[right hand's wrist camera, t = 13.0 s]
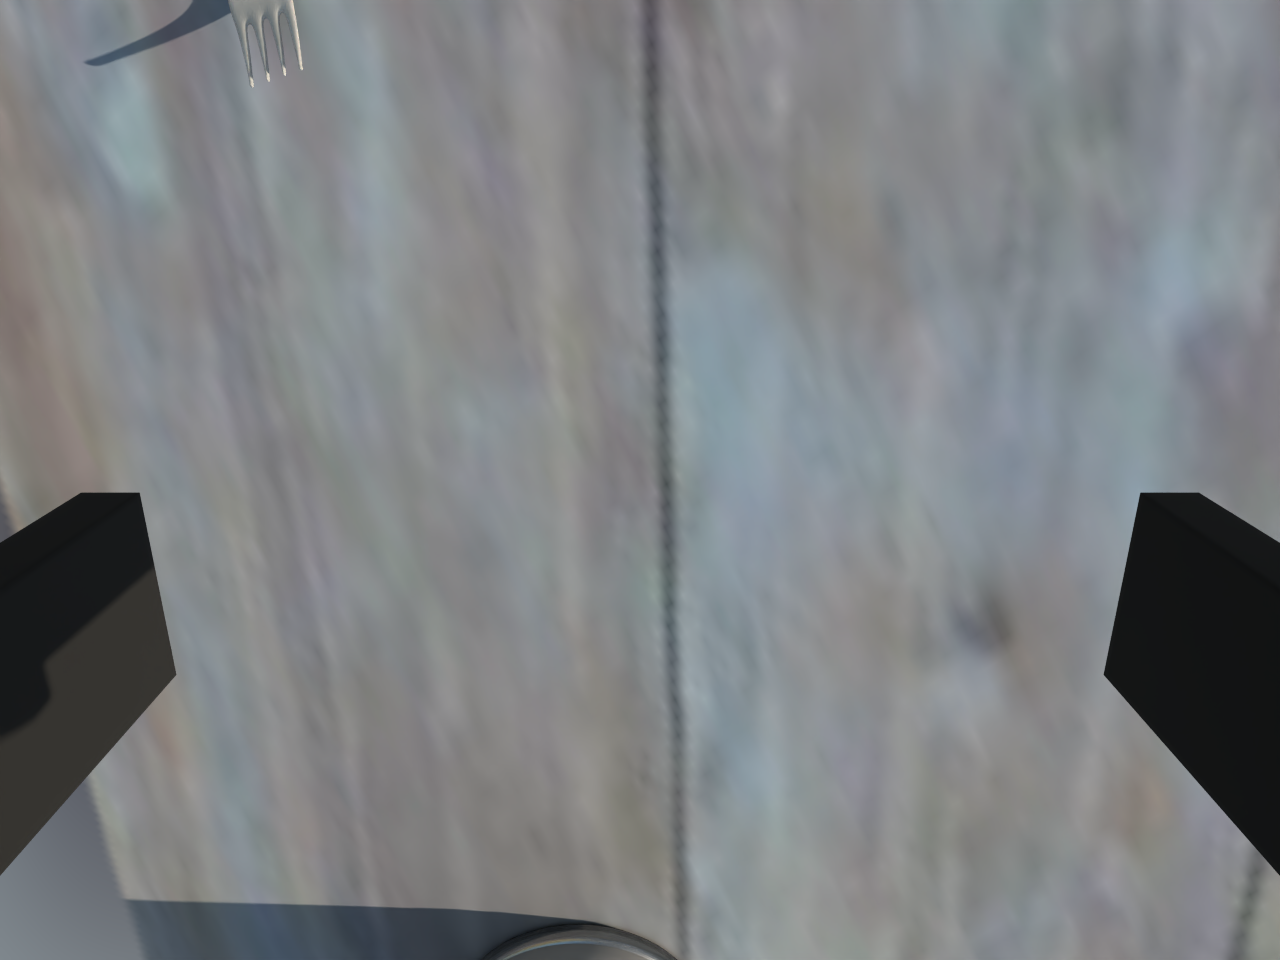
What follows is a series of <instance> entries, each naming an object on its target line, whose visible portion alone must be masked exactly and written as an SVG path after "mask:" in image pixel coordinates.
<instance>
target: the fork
mask: <svg viewBox="0 0 1280 960" xmlns="http://www.w3.org/2000/svg"><path fill="white" fill-rule="evenodd" d="M228 3H229V7H230V11H231V14H232V17H233V20H234V23H235V26H236V28H237V32H238V35H239V39H240V43H241V47H242V51H243V55H244V59H245V63H246V67H247V71H248V76H249V81H250V86H251V87H254V85H253V76H252V66H251V57H250V49H249V42H248V35H247V26H248V25H249V24H251V25H252V26H253V28H254V30H255V33H256V37H257V41H258V45H259V49H260V53H261V57H262V61H263V65H264V69H265V73H266V78H267V80H268V81H270V78H269V68H268V59H267V51H266V43H265V36H264V29H263V21H264V19H265V18H267V19H268V20H269V22H270V24H271V27H272V31H273V35H274V38H275V42H276V46H277V50H278V54H279V58H280V62H281V66H282V71H283V74H284V76H286V69H285V60H284V51H283V44H282V36H281V30H280V22H279V16H280V14H281V13H284V14H285V16H286V18H287V21H288V24H289V28H290V32H291V36H292V40H293V43H294V47H295V51H296V55H297V59H298V64H299V69H300V70H303V68H302V60H301V52H300V44H299V36H298V29H297V23H296V17H295V11H294V5H293V0H228Z"/></svg>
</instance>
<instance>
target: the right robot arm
mask: <svg viewBox="0 0 1280 960" xmlns="http://www.w3.org/2000/svg"><path fill="white" fill-rule="evenodd" d="M175 676H176V671H175V666H174V661H173V656H172V651H171V646H170V641H169V636H168V631H167V626H166V621H165V616H164V611H163V606H162V601H161V596H160V592H159V587H158V582H157V577H156V572H155V567H154V562H153V557H152V552H151V547H150V542H149V537H148V532H147V527H146V522H145V517H144V512H143V507H142V502H141V497H140V493H80V494H78V495H77V496H75V497H73V498H72V499H70V500H69V501H67V502H65V503H64V504H62V505H61V506H59V507H57V508H56V509H54V510H52V511H51V512H49V513H48V514H46V515H44V516H43V517H41V518H40V519H38V520H36V521H35V522H33V523H32V524H30V525H28V526H27V527H25V528H23V529H22V530H20V531H19V532H17V533H15V534H14V535H12V536H11V537H9V538H7V539H6V540H4V541H2V542H1V543H0V875H1V874H2V873H3V872H4V871H5V869H6V868H7V867H8V866H9V865H10V864H11V863H12V861H13V860H14V859H15V858H16V857H17V856H18V855H19V853H20V852H21V851H22V850H23V849H24V848H25V847H26V845H27V844H28V843H29V842H30V841H31V840H32V839H33V838H34V836H35V835H36V834H37V833H38V832H39V831H40V829H41V828H42V827H43V826H44V825H45V824H46V823H47V822H48V820H49V819H50V818H51V817H52V816H53V815H54V814H55V812H56V811H57V810H58V809H59V808H60V807H61V806H62V804H63V803H64V802H65V801H66V800H67V799H68V798H69V796H70V795H71V794H72V793H73V792H74V791H75V790H76V788H77V787H78V786H79V785H80V784H81V783H82V782H83V781H84V779H85V778H86V777H87V776H88V775H89V774H90V773H91V771H92V770H93V769H94V768H95V767H96V766H97V765H98V763H99V762H100V761H101V760H102V759H103V758H104V757H105V755H106V754H107V753H108V752H109V751H110V750H111V749H112V747H113V746H114V745H115V744H116V743H117V742H118V741H119V739H120V738H121V737H122V736H123V735H124V734H125V733H126V731H127V730H128V729H129V728H130V727H131V726H132V725H133V724H134V722H135V721H136V720H137V719H138V718H139V717H140V716H141V714H142V713H143V712H144V711H145V710H146V709H147V708H148V706H149V705H150V704H151V703H152V702H153V701H154V700H155V698H156V697H157V696H158V695H159V694H160V693H161V692H162V690H163V689H164V688H165V687H166V686H167V685H168V684H169V682H170V681H171V680H172V679H173V678H174V677H175ZM1104 676H1105V677H1106V678H1107V679H1108V680H1109V681H1110V682H1111V684H1112V685H1113V686H1114V687H1115V688H1116V689H1117V690H1118V692H1119V693H1120V694H1121V695H1122V696H1123V697H1124V698H1125V700H1126V701H1127V702H1128V703H1129V704H1130V705H1131V706H1132V708H1133V709H1134V710H1135V711H1136V712H1137V713H1138V714H1139V716H1140V717H1141V718H1142V719H1143V720H1144V721H1145V722H1146V724H1147V725H1148V726H1149V727H1150V728H1151V729H1152V730H1153V731H1154V733H1155V734H1156V735H1157V736H1158V737H1159V738H1160V739H1161V741H1162V742H1163V743H1164V744H1165V745H1166V746H1167V747H1168V749H1169V750H1170V751H1171V752H1172V753H1173V754H1174V755H1175V757H1176V758H1177V759H1178V760H1179V761H1180V762H1181V763H1182V765H1183V766H1184V767H1185V768H1186V769H1187V770H1188V771H1189V773H1190V774H1191V775H1192V776H1193V777H1194V778H1195V779H1196V781H1197V782H1198V783H1199V784H1200V785H1201V786H1202V787H1203V788H1204V790H1205V791H1206V792H1207V793H1208V794H1209V795H1210V796H1211V798H1212V799H1213V800H1214V801H1215V802H1216V803H1217V804H1218V806H1219V807H1220V808H1221V809H1222V810H1223V811H1224V812H1225V814H1226V815H1227V816H1228V817H1229V818H1230V819H1231V820H1232V822H1233V823H1234V824H1235V825H1236V826H1237V827H1238V828H1239V830H1240V831H1241V832H1242V833H1243V834H1244V835H1245V836H1246V838H1247V839H1248V840H1249V841H1250V842H1251V843H1252V844H1253V845H1254V847H1255V848H1256V849H1257V850H1258V851H1259V852H1260V853H1261V855H1262V856H1263V857H1264V858H1265V859H1266V860H1267V861H1268V863H1269V864H1270V865H1271V866H1272V867H1273V868H1274V869H1275V871H1276V872H1277V873H1278V874H1279V875H1280V543H1279V542H1278V541H1276V540H1274V539H1273V538H1271V537H1269V536H1268V535H1266V534H1265V533H1263V532H1261V531H1260V530H1258V529H1257V528H1255V527H1253V526H1252V525H1250V524H1248V523H1247V522H1245V521H1244V520H1242V519H1240V518H1239V517H1237V516H1236V515H1234V514H1232V513H1231V512H1229V511H1228V510H1226V509H1224V508H1223V507H1221V506H1219V505H1218V504H1216V503H1215V502H1213V501H1211V500H1210V499H1208V498H1207V497H1205V496H1203V495H1202V494H1200V493H1140V497H1139V502H1138V507H1137V512H1136V517H1135V522H1134V527H1133V532H1132V537H1131V542H1130V547H1129V552H1128V557H1127V562H1126V567H1125V572H1124V577H1123V582H1122V587H1121V592H1120V596H1119V601H1118V606H1117V611H1116V616H1115V621H1114V626H1113V631H1112V636H1111V641H1110V646H1109V651H1108V656H1107V661H1106V666H1105V671H1104ZM482 960H677V959H676V958H675V957H673V956H672V955H671V954H669V953H668V952H667V951H665V950H664V949H662V948H661V947H659V946H658V945H656V944H654V943H652V942H650V941H649V940H647V939H644V938H642V937H640V936H637V935H635V934H632V933H629V932H626V931H622V930H618V929H614V928H609V927H603V926H595V925H561V926H554V927H547V928H543V929H538V930H535V931H532V932H528V933H525V934H523V935H520V936H518V937H515V938H513V939H511V940H509V941H507V942H505V943H503V944H502V945H500V946H498V947H497V948H495V949H494V950H493V951H491V952H490V953H489V954H487V955H486V956H485V957H484V958H483V959H482Z"/></svg>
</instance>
